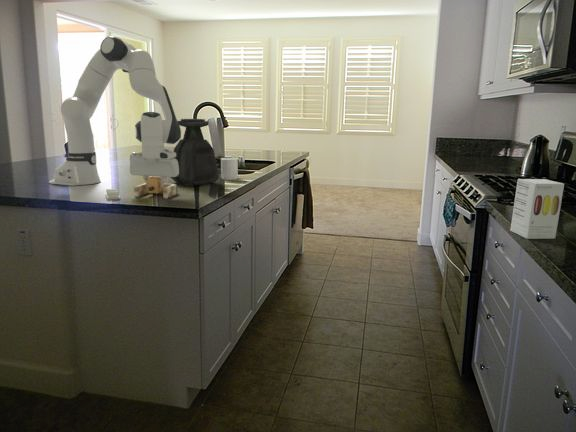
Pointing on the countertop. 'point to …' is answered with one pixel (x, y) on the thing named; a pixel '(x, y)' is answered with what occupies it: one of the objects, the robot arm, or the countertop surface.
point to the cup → (229, 168)
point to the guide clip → (112, 194)
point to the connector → (154, 184)
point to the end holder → (167, 192)
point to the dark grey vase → (195, 156)
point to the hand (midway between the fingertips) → (155, 186)
